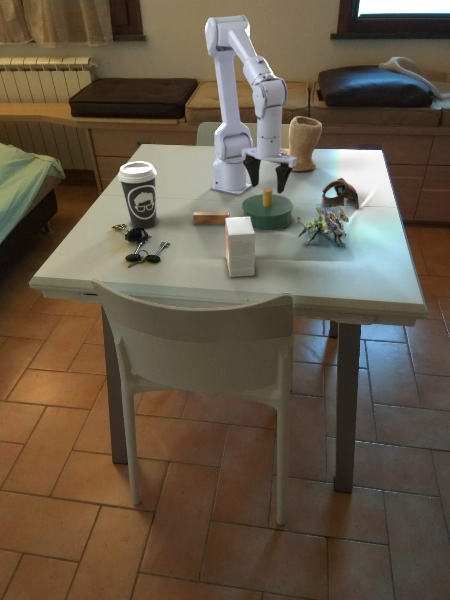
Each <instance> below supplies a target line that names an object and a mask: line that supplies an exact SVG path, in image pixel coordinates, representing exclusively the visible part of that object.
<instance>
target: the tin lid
mask: <svg viewBox="0 0 450 600" xmlns="http://www.w3.org/2000/svg"><path fill="white" fill-rule="evenodd" d="M273 192H274V191H273V188H270V187H265V188H262V194H255V195H252V196H249V197H248V198H245V199H244V200H243V202H241V208H242V211H243V210H244V211H245V212H246V213H247V214H249V215H252V216H255V217H261V218H274V217H280V216H283V215H286V214H288V213H289V212H291V213H292V211H293V209H294V203H293V201H292V200H291V199H289V198H288V197H286V196H283V195H280V194H274V193H273Z"/></svg>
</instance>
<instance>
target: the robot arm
mask: <svg viewBox="0 0 450 600" xmlns="http://www.w3.org/2000/svg"><path fill="white" fill-rule="evenodd" d="M250 30H251V29H250V23H249V20H248V18H247V16H246V15H245V14H239V15H231V16H219V17H212V16H211V17H209V18H208V19H207V21H206V24H205V29H204V34H205V41H206V42H205V43H206V49H207V54H208V56H209V57H211V58H213V62H214V67H215V69H214V70H215V76H216V83H217V91H218V98H219V107H220V114H221V121H222V123H221V125H220V126H219V127H218V128H217V130H215V132H214V136H213V137H214V144H213V148H214V153H215V156H216V157H215V159H214V161H213V164H212V182H213V187H212V189H214V190H218V191H222V192H227V193H232V194H236V195H240V194H242V193H243V192H245V191H246V190H248V189H249V188H250V187H253V188H255V187H257V186H259V183H260V168H261V163H262V161H264V162H270V163H274V164H279V165H278V166H276V167H275V168H274V169H275V174H276V183H277V184H276V191H277V192H276V193H277V194H278V195H280V194H282V193H284V192H285V188H286V185H287V182H288V179H289V176H290V175H291V173H292V171H293V170H292V169H293V168H294V166H296V161H297V157H293V156H290V155H288V154H285V153H283V152H280V151H281V150H282V125H283V124H282V122H283V107H284V106H285V105H286V104H287V102H288V97H289V91H288V86H287V83H286V81H285V80H284V79H283V78H281V77H279V76H275V75H274V72H273V71H272V69H271V68H270V66H269V64H268V62H267V60H266V59H265V58H264V57H263V56H262V55H258V54H257V52H256V50H255V48H254V45H253V43H252V41H251V38H250V33H251V32H250ZM236 56H237V57H238V58H239V60H240V62H241V63H242V64H243V67H242V73H243V75H244V77H245V79H246V80H247V83H248V84H249V86H250V88H251V90H252V91H253V92H252V101H253V106H254V113H255V116H256V147H254V142H253V141H254V140H253V139H252V135H251V130H250V128H249V127H248V126H247V125H245V124H244V123H243V122H241V115H240V106H239V98H238V89H237V81H236V74H235V64H234V58H235V57H236ZM247 174H248V176H249V179H250V183H249V182H247Z"/></svg>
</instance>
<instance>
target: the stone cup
mask: <svg viewBox="0 0 450 600" xmlns="http://www.w3.org/2000/svg"><path fill="white" fill-rule="evenodd" d="M288 128H289V130H288V148H287V149H286V148H285V149H284V148H283V149H282V148H281V151H280V152H283V153H285V154H288V155H290V156H293V157H297V161H296V166H294V168H293V169H292V171H293V172H308V171H312V170H313V169H315V168H316V167H317V164H316V163H315V162H314V160H313V153H314V151H315V149H316V147H317V145H318V143H319V141H320V139H321V137H322V136H321V135H322V133H323V125H322V122H321V121H319V120H318V119H315V118H312V117H307V116H301V115H300V116H298V115H297V116H295V117H293V119H291V121H290V124H289V127H288Z"/></svg>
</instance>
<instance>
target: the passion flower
mask: <svg viewBox="0 0 450 600" xmlns="http://www.w3.org/2000/svg"><path fill="white" fill-rule="evenodd" d="M315 210H316V211H317V213H318V217H317V219H314V220H312V222H311V221H308V222H307V223H306V225H304V223H302V222H301V217H300V216H297V217H296V223H297V224H300V225H301V226H303V230H302V231H301V232H300V233H299V234H298V237H297V238H298V239H300V238H301V237H302V236H303V235H304V234H305V233H308V236H307V241H306V243H305V245H306V246H307V245H308V244H309V243H310V242H312V241H314V240H315V238H316V236H317V235H318V234H319V233H320V232H321V234H322V235H331V234H333V239H334V244H335V245H336V247H338V248H342V246H344V245H345V242H344V241H343V240H344V239H345V238H346V236H347V233H346V232H345V229H344V224H343V222H345V223H350V220H349V218H348V217H347V216H346V215H347V214H346V213H344V210H343V209H342V208H339V209H338V216H337V215H336V213H334V211H332V210H331V209H329V207H326V208H325V207H324V208H322V209H321V207H319V204H317V205H316V206H315ZM341 220H342V221H343V222H341ZM311 231H313V233H312V232H311Z"/></svg>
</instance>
